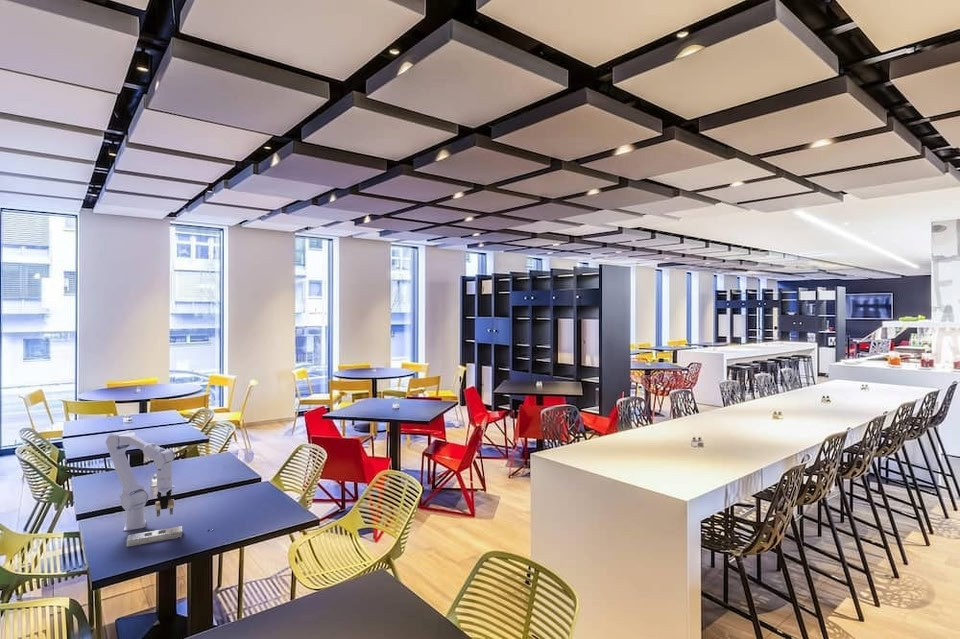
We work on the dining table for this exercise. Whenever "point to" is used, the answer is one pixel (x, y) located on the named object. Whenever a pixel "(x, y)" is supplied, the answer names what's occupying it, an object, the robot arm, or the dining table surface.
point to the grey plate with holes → (154, 536)
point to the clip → (170, 505)
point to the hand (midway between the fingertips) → (164, 507)
